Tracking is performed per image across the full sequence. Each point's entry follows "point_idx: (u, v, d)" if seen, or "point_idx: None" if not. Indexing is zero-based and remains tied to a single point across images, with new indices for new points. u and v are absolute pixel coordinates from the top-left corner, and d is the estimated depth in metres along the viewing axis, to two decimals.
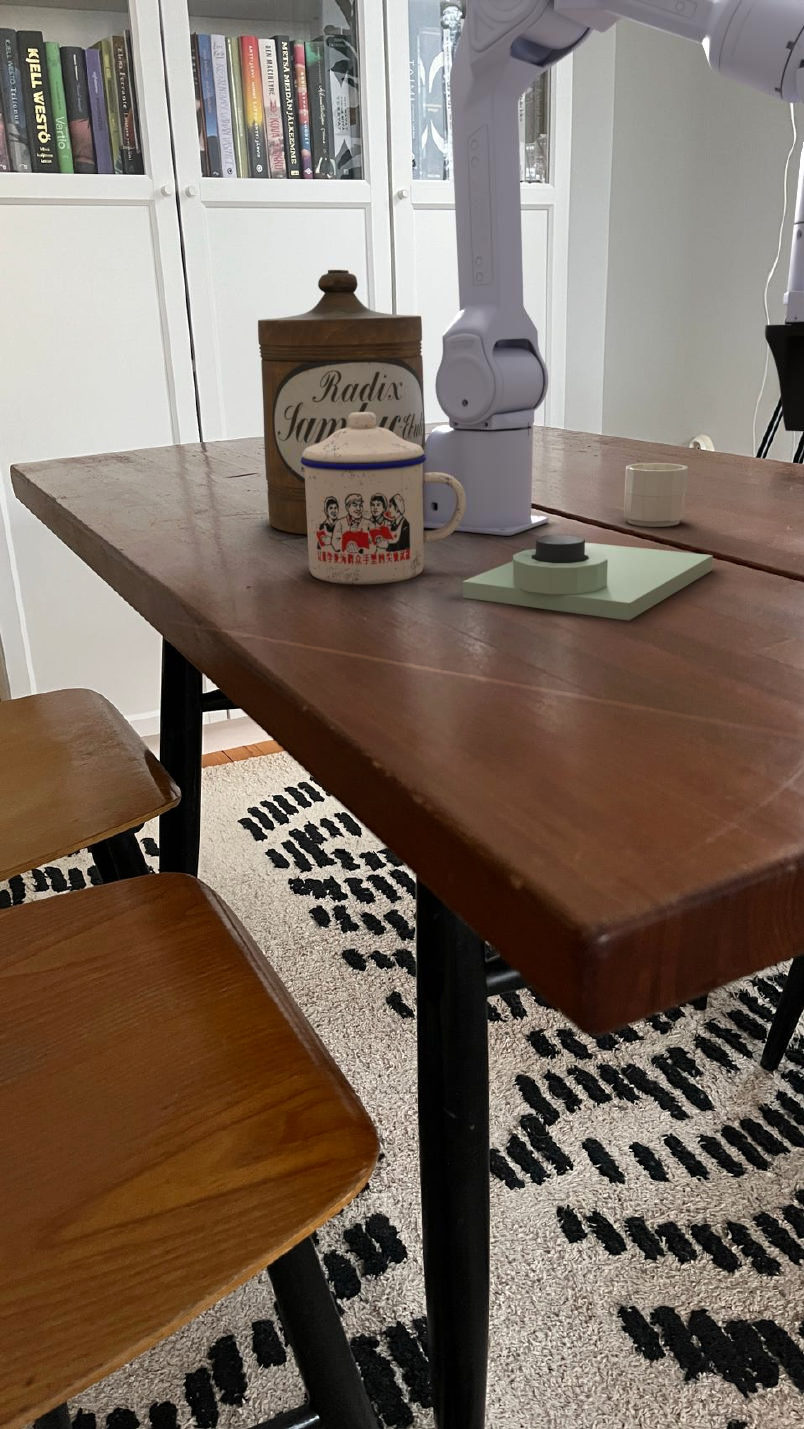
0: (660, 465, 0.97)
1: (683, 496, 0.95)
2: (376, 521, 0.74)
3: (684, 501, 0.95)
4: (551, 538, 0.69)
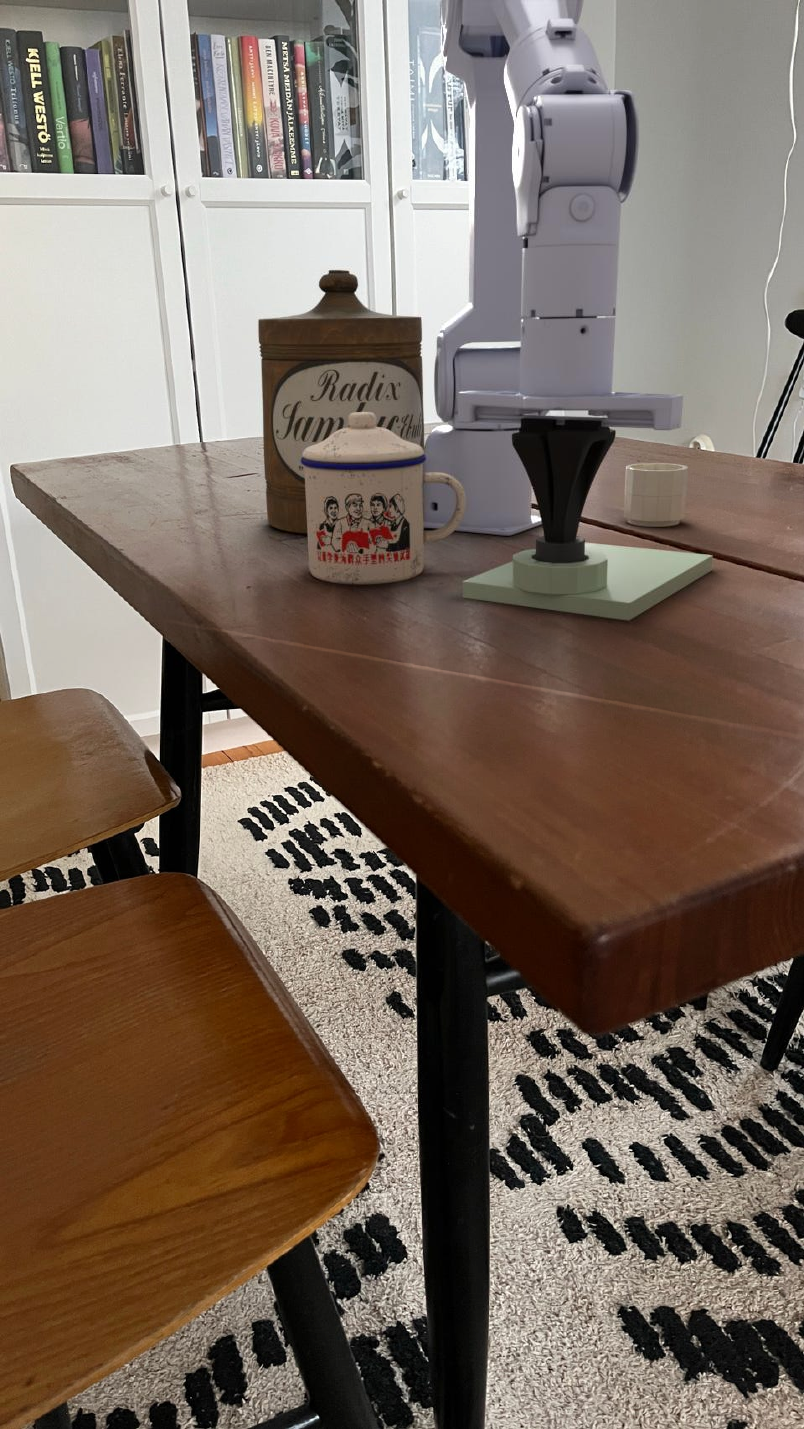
0: (660, 465, 0.97)
1: (683, 496, 0.95)
2: (376, 521, 0.74)
3: (684, 501, 0.95)
4: None
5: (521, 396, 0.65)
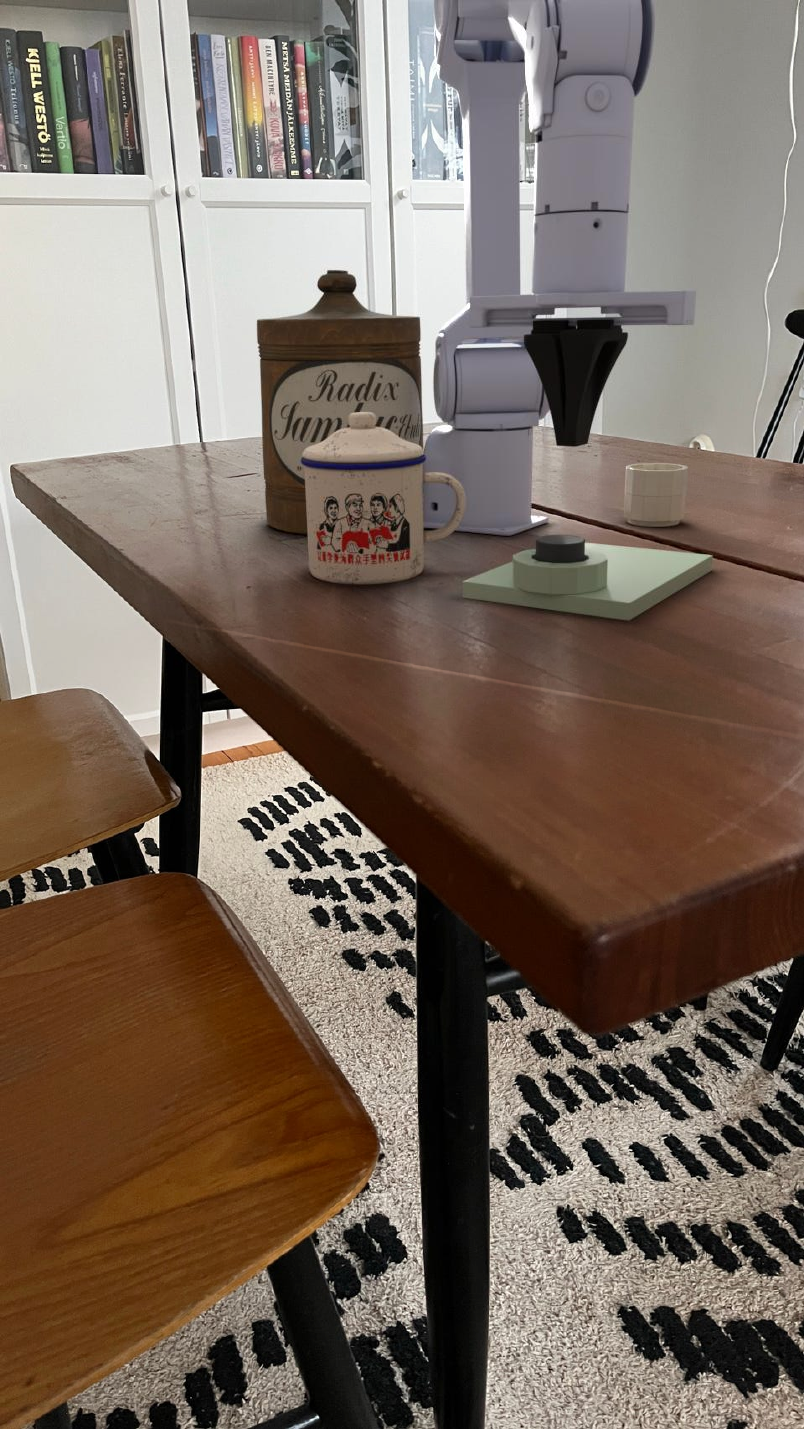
0: (660, 465, 0.97)
1: (683, 496, 0.95)
2: (376, 521, 0.74)
3: (684, 501, 0.95)
4: (551, 538, 0.69)
5: (533, 295, 0.65)
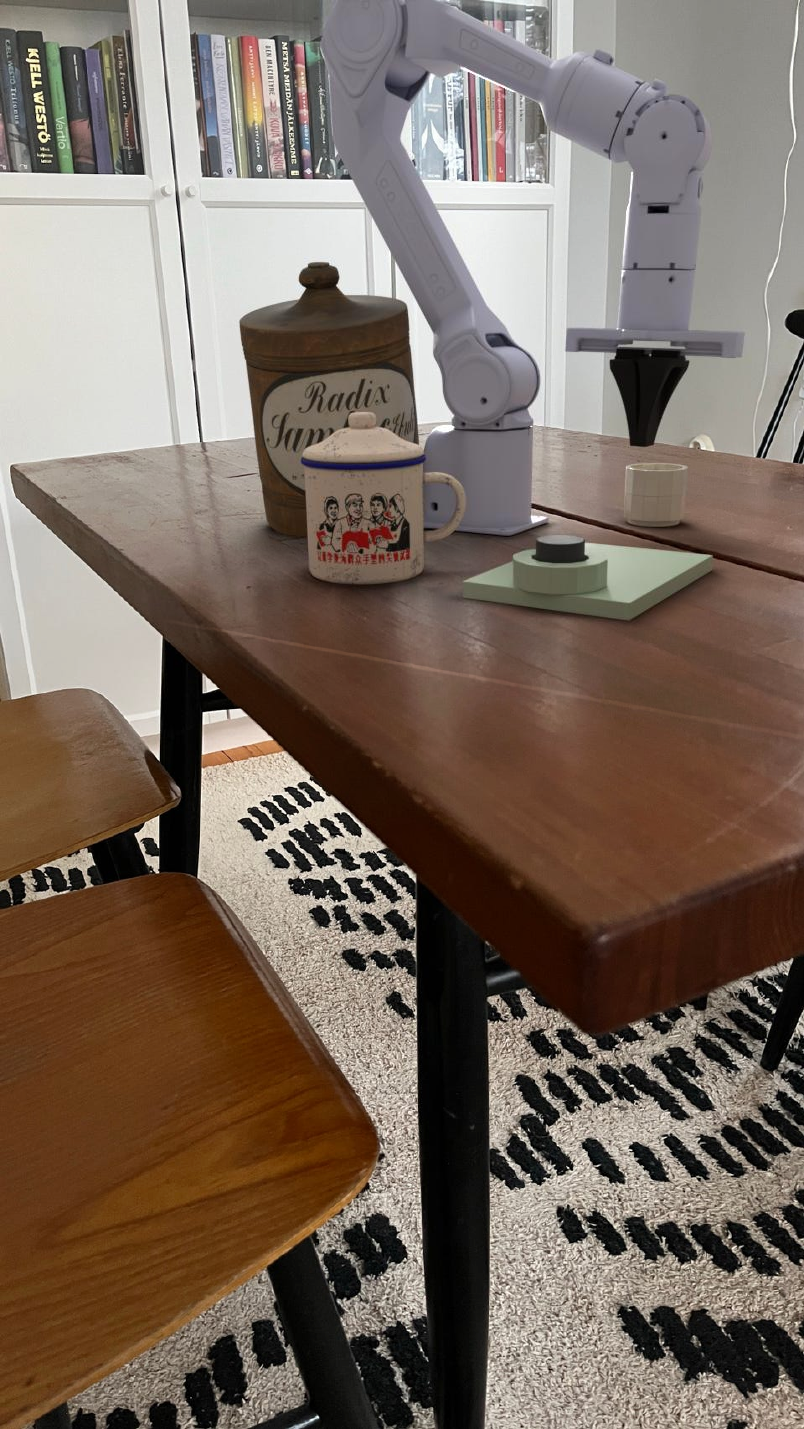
0: (660, 465, 0.97)
1: (683, 496, 0.95)
2: (376, 521, 0.74)
3: (684, 501, 0.95)
4: (551, 538, 0.69)
5: (619, 330, 0.85)
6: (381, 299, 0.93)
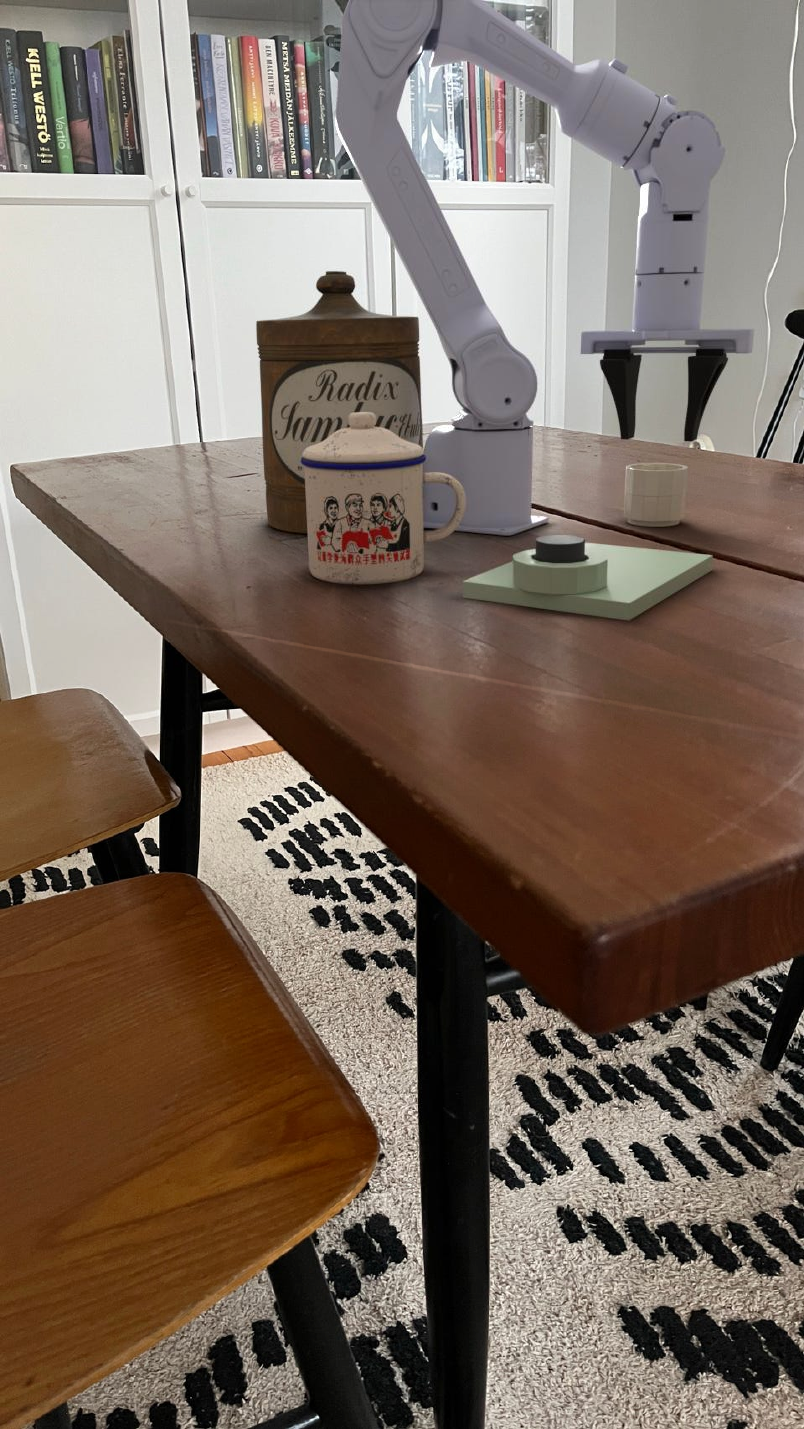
0: (660, 465, 0.97)
1: (683, 496, 0.95)
2: (376, 521, 0.74)
3: (684, 501, 0.95)
4: (551, 538, 0.69)
5: (637, 331, 0.90)
6: None
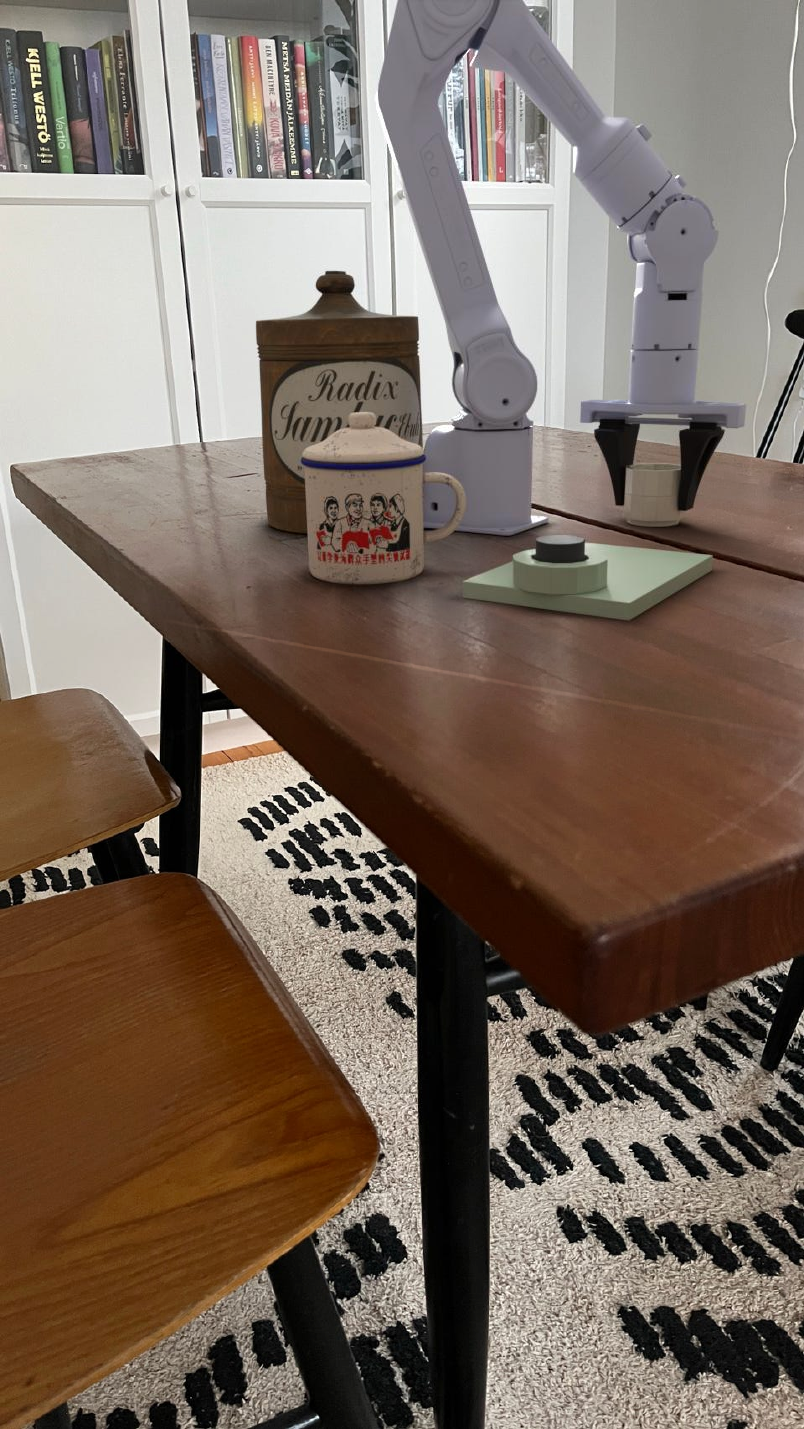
0: (660, 465, 0.97)
1: None
2: (376, 521, 0.74)
3: None
4: (551, 538, 0.69)
5: None
6: None
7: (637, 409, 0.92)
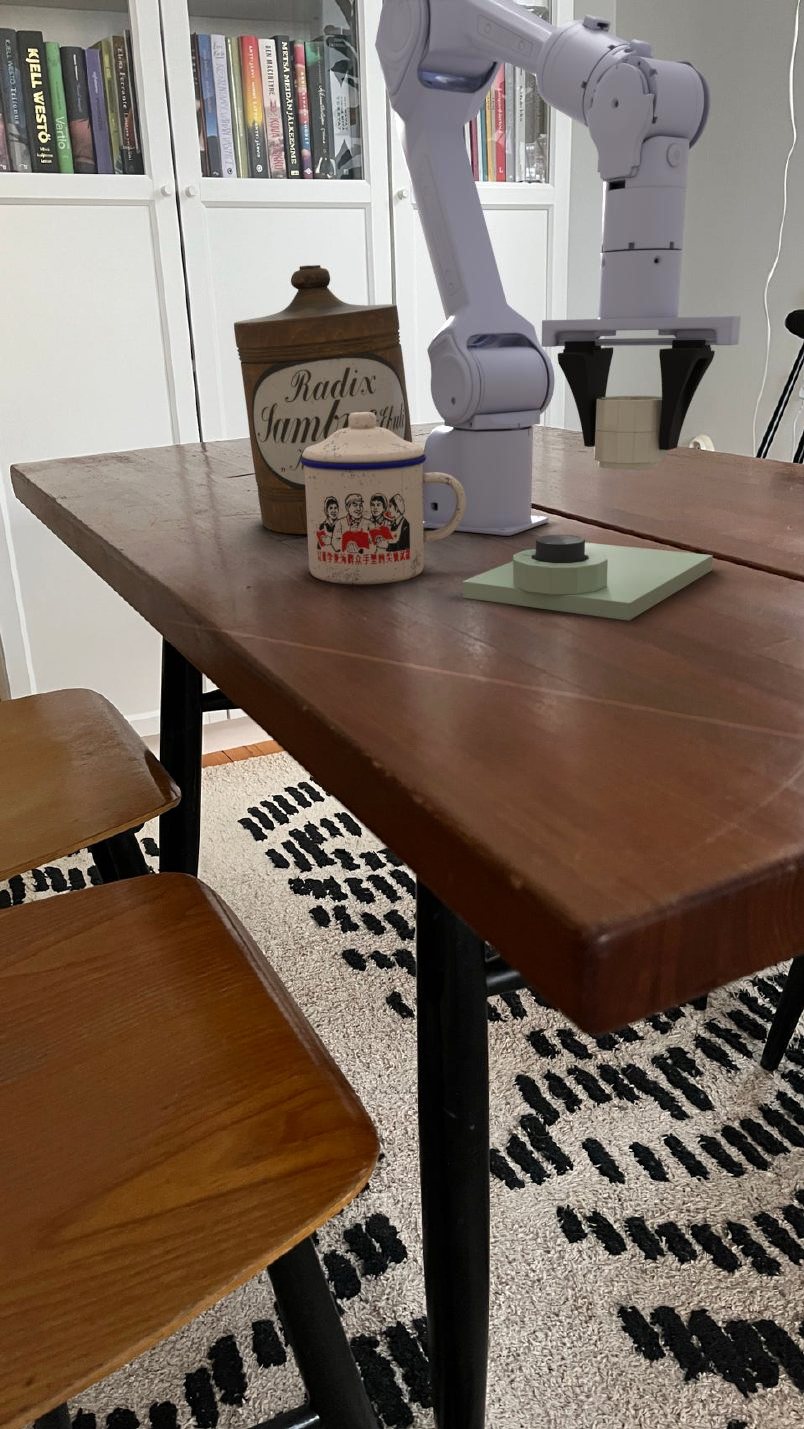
0: (637, 398, 0.81)
1: None
2: (376, 521, 0.74)
3: None
4: (551, 538, 0.69)
5: None
6: None
7: (608, 325, 0.76)
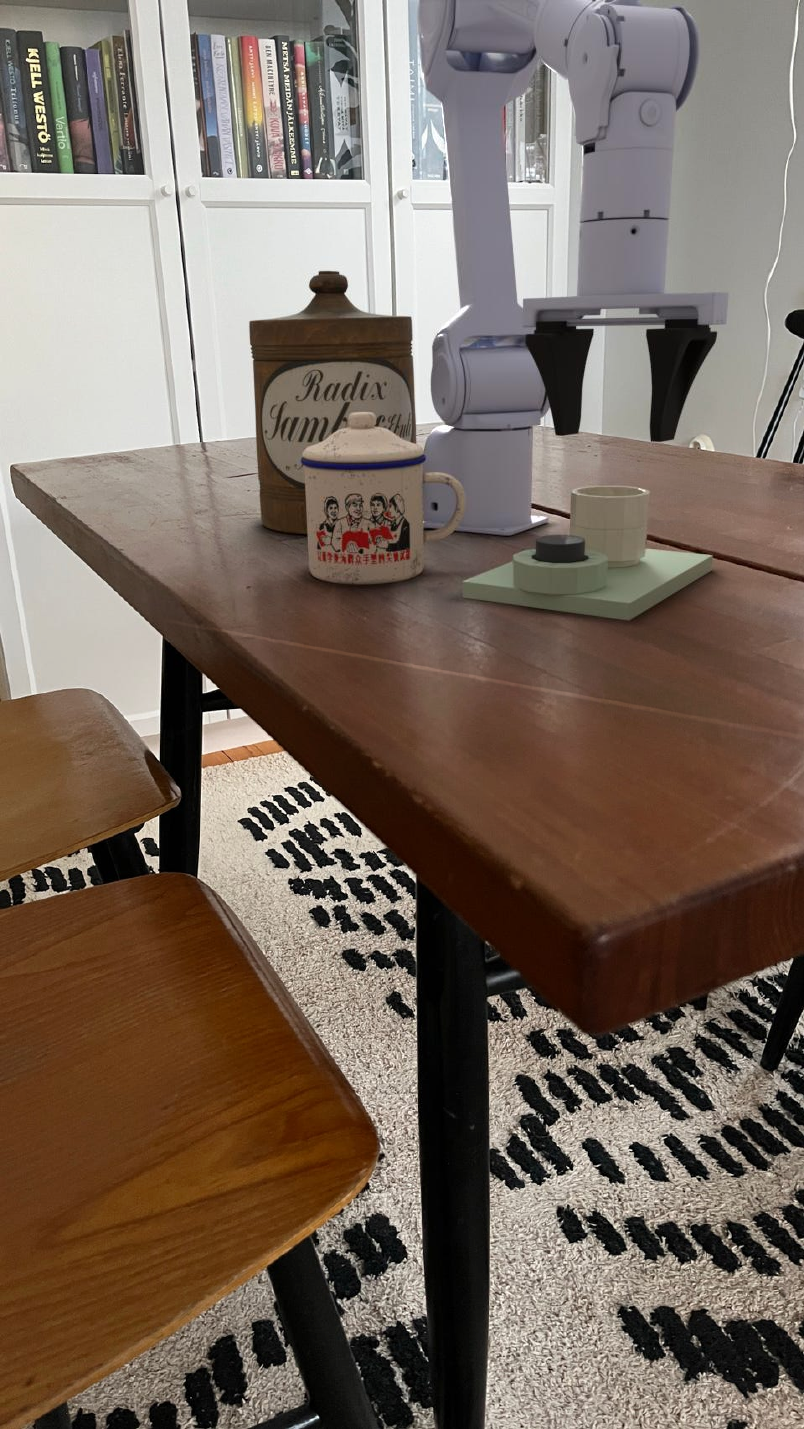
0: (620, 489, 0.77)
1: (641, 530, 0.74)
2: (376, 521, 0.74)
3: (643, 536, 0.74)
4: (551, 538, 0.69)
5: None
6: None
7: (583, 302, 0.69)
